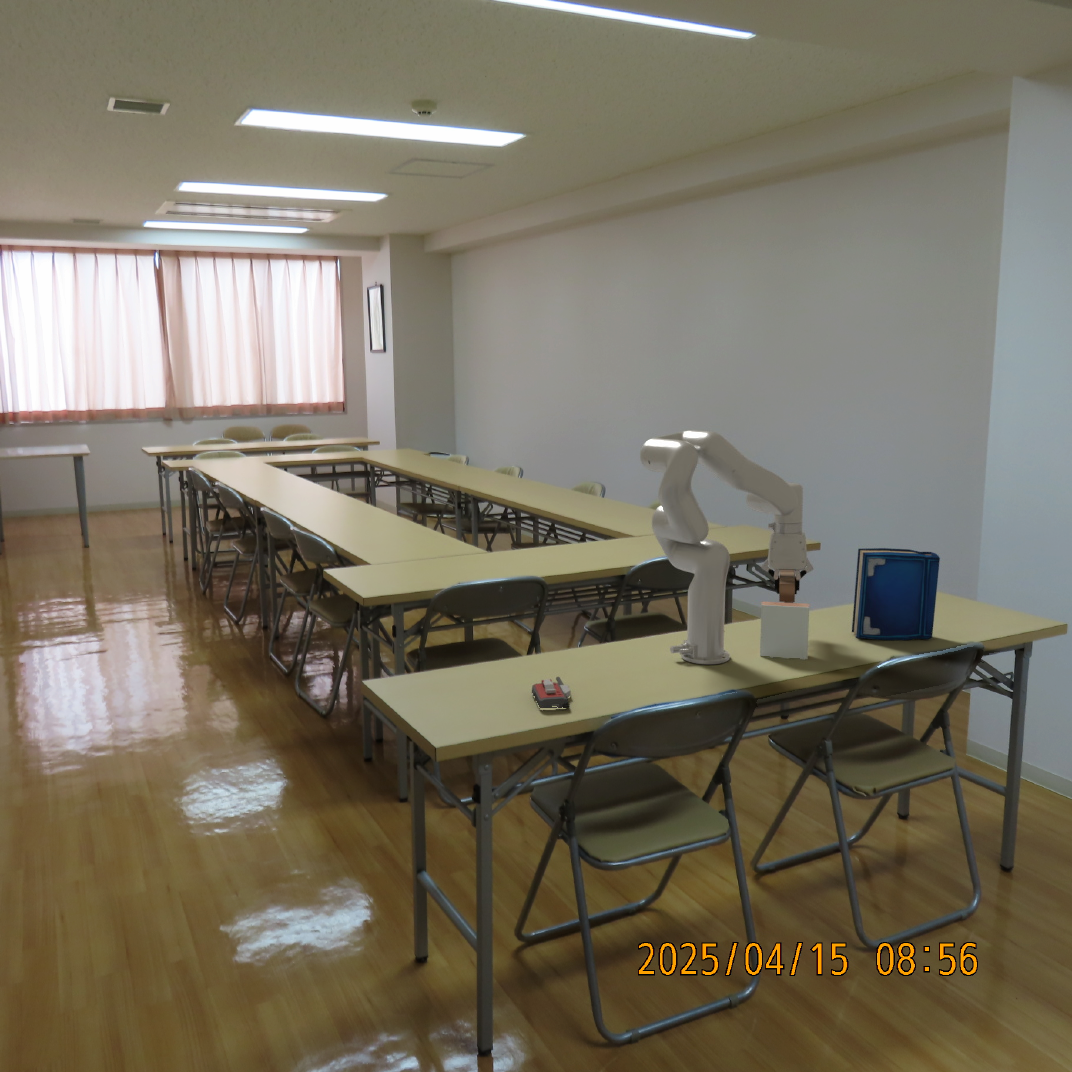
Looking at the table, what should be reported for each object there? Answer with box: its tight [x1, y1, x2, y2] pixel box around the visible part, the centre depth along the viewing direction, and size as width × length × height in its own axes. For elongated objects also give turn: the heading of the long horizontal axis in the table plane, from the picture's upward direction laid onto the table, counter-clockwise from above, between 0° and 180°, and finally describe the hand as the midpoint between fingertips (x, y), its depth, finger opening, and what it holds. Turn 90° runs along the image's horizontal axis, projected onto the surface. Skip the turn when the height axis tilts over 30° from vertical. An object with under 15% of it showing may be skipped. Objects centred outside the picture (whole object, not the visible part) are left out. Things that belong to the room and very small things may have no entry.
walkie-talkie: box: [531, 676, 572, 709], centre depth 216 cm, size 9×4×20 cm
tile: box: [759, 601, 810, 660], centre depth 243 cm, size 4×12×14 cm, turn 75°
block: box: [778, 570, 796, 603], centre depth 257 cm, size 18×4×5 cm, turn 165°
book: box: [851, 547, 941, 641], centre depth 257 cm, size 22×7×25 cm, turn 84°
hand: (786, 592), depth 257 cm, fingers closed on block, 4 cm apart
